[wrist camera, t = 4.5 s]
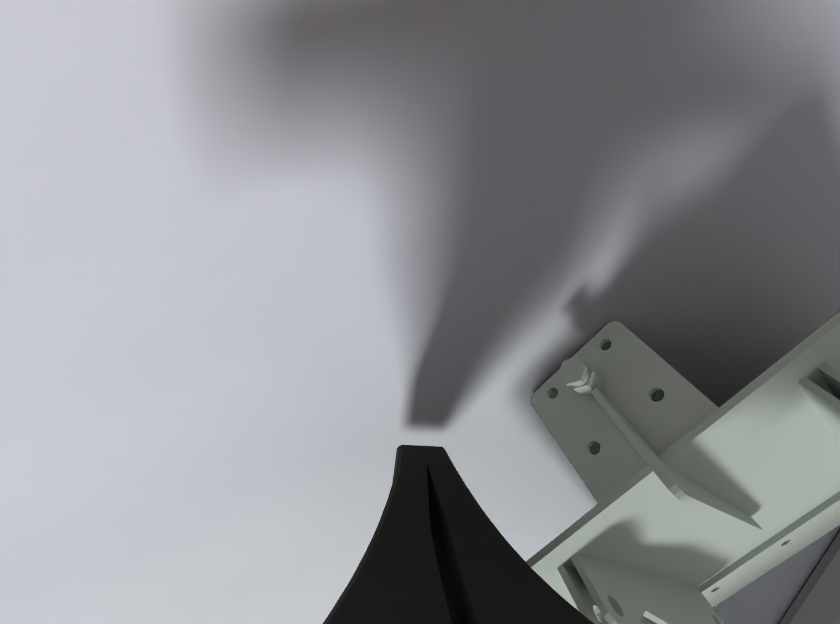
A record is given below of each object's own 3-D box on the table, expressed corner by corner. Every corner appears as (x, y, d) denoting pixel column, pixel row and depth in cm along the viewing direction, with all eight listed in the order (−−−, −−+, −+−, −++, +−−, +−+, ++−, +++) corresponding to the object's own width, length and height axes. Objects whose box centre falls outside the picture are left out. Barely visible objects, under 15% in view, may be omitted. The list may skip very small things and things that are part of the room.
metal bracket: (443, 723, 10) (1158, 216, 6) (389, 500, 15) (770, 131, 11) (685, 699, 18) (1068, 471, 14) (599, 558, 22) (866, 357, 18)
